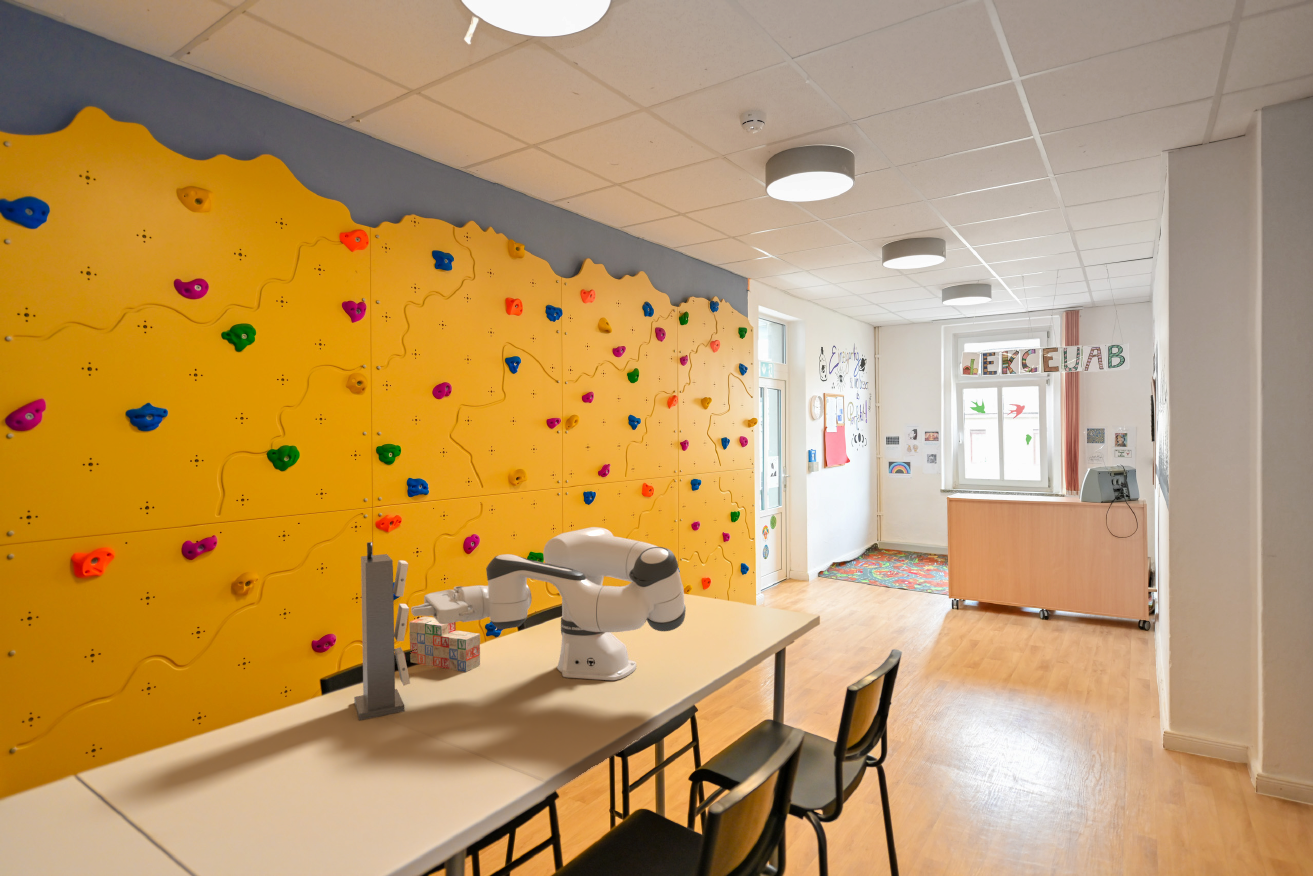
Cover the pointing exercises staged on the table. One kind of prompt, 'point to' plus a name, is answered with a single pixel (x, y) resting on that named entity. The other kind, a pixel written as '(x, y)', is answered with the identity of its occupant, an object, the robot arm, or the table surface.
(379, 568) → the power strip
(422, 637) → the stack of blocks
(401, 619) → the middle rocker
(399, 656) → the bottom rocker
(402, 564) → the top rocker
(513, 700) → the table surface
